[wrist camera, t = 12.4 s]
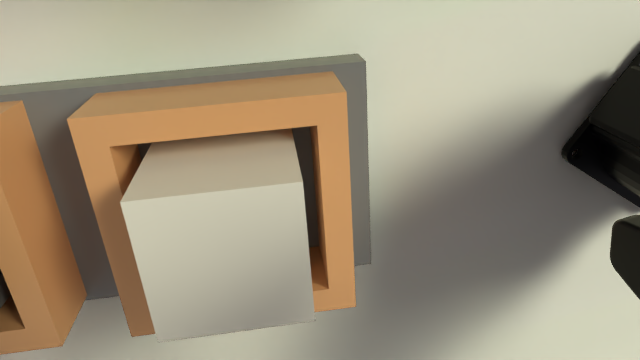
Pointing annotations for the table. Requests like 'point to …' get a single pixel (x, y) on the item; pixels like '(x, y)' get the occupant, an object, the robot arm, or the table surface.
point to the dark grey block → (3, 290)
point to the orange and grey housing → (184, 198)
